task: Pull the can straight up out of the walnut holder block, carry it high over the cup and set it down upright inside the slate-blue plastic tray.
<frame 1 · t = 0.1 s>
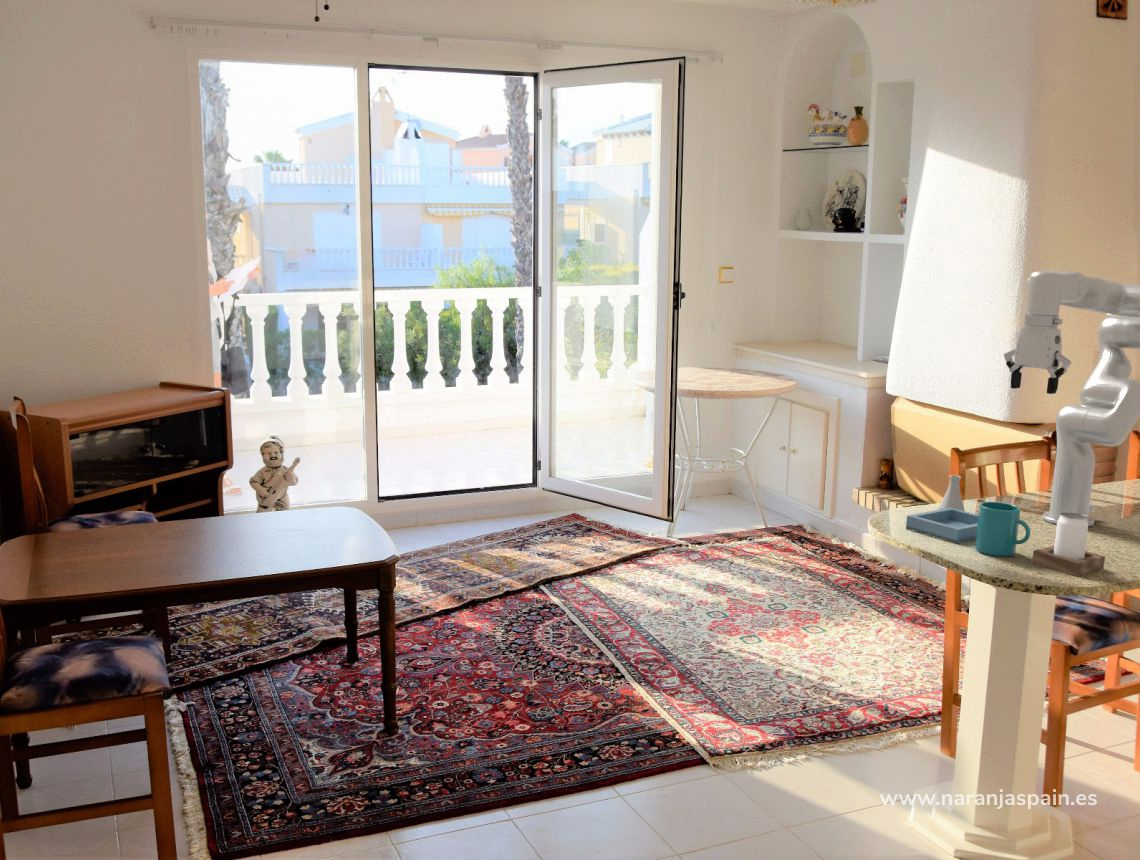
hand: (1033, 390, 268), 37 cm above the table, tool pointing down, fingers open, 9 cm apart
flask: (951, 512, 294), on the table
holder: (1067, 566, 247), on the table
tray: (952, 531, 274), on the table
can: (1067, 567, 247), resting in holder
cup: (1001, 554, 256), on the table
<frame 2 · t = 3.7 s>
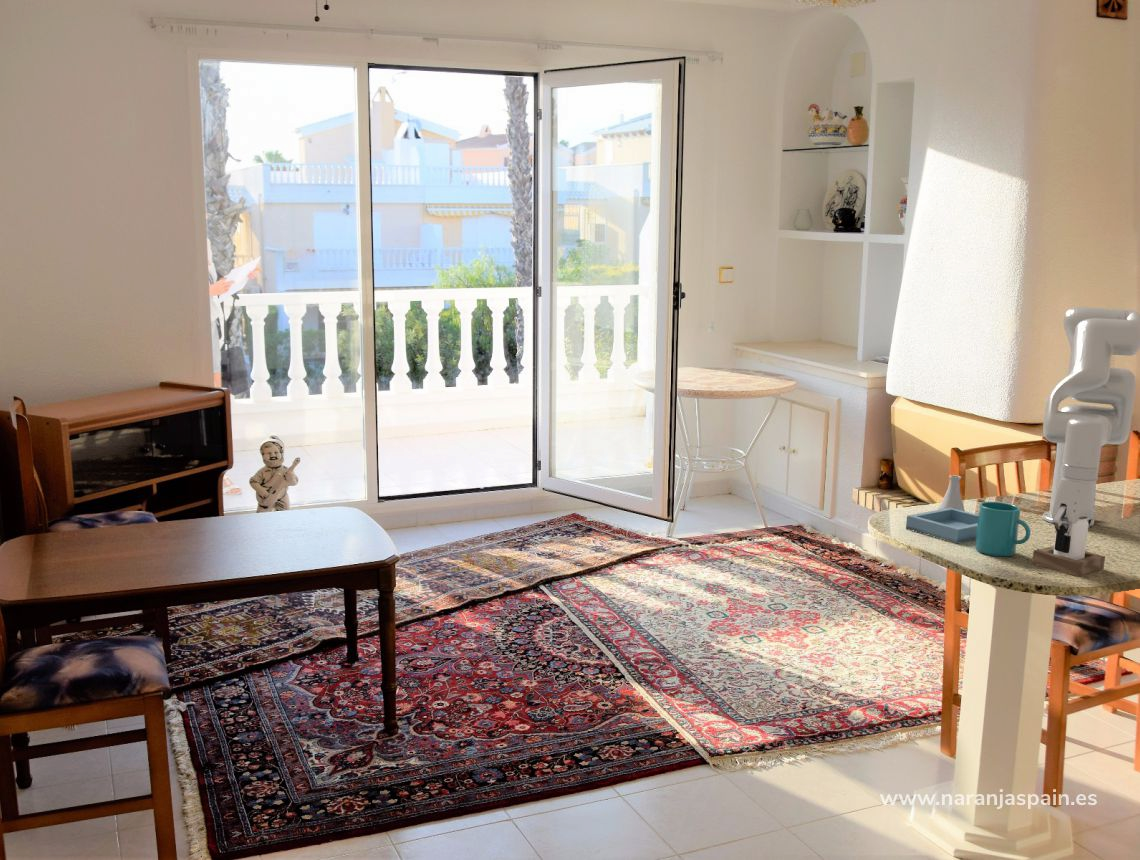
hand: (1069, 548, 246), 4 cm above the table, tool pointing down, fingers closed on can, 6 cm apart
can: (1067, 567, 247), resting in holder, touching gripper
everything else where it was.
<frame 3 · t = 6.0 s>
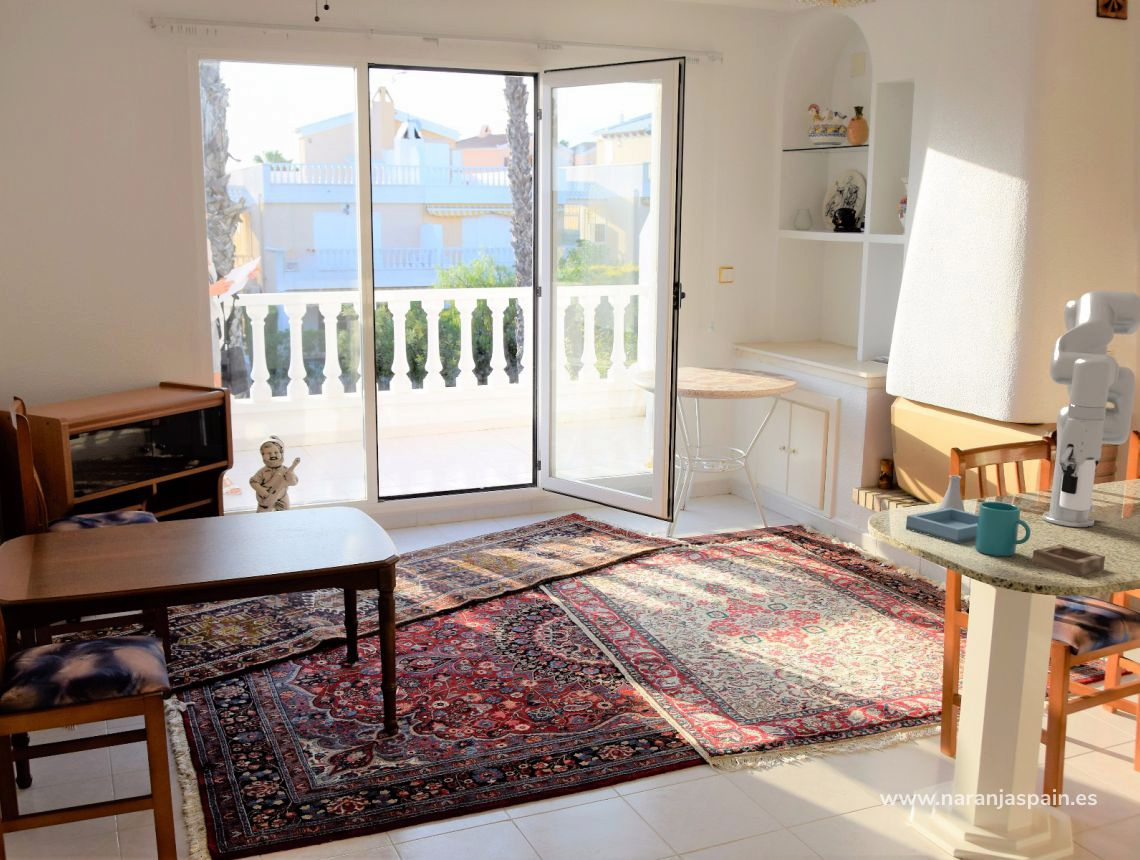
hand: (1076, 490, 244), 18 cm above the table, tool pointing down, fingers closed on can, 6 cm apart
can: (1074, 508, 245), point 13 cm above the table, touching gripper
everything else where it was.
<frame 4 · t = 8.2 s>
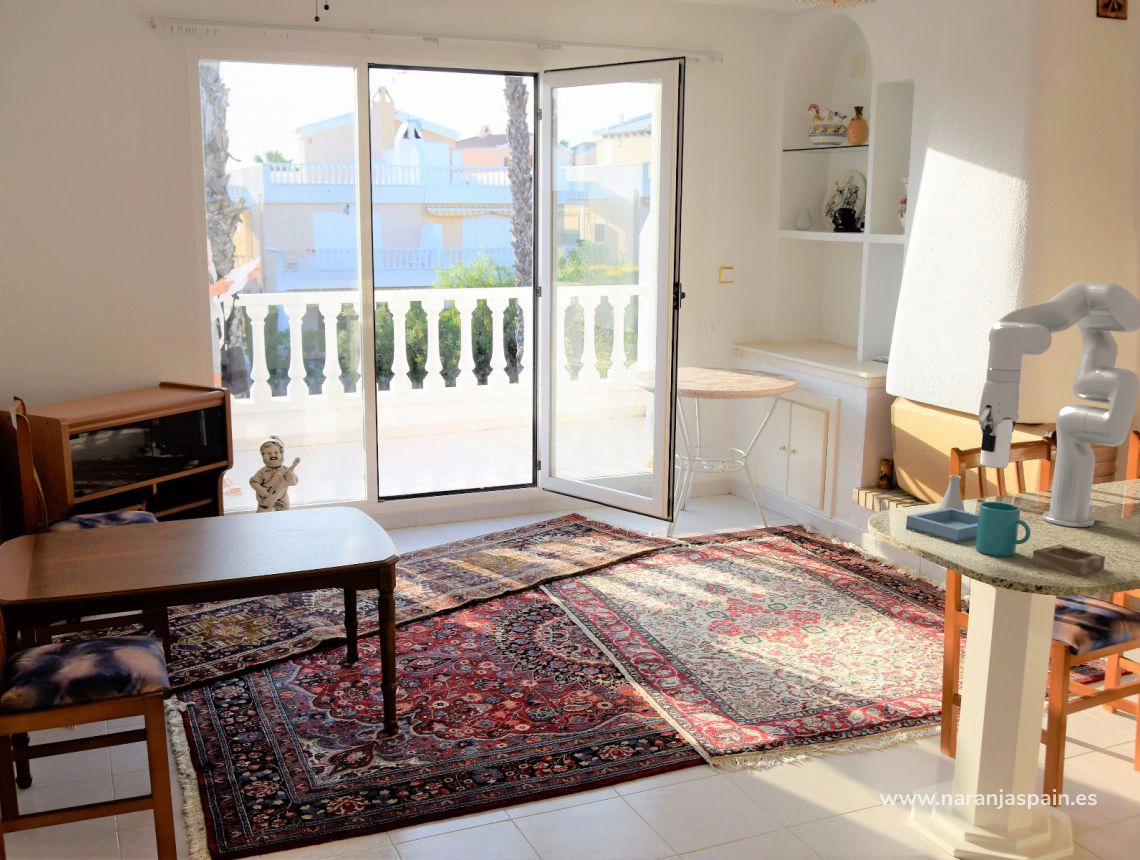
hand: (995, 448, 261), 23 cm above the table, tool pointing down, fingers closed on can, 6 cm apart
can: (993, 466, 262), point 19 cm above the table, touching gripper
everything else where it was.
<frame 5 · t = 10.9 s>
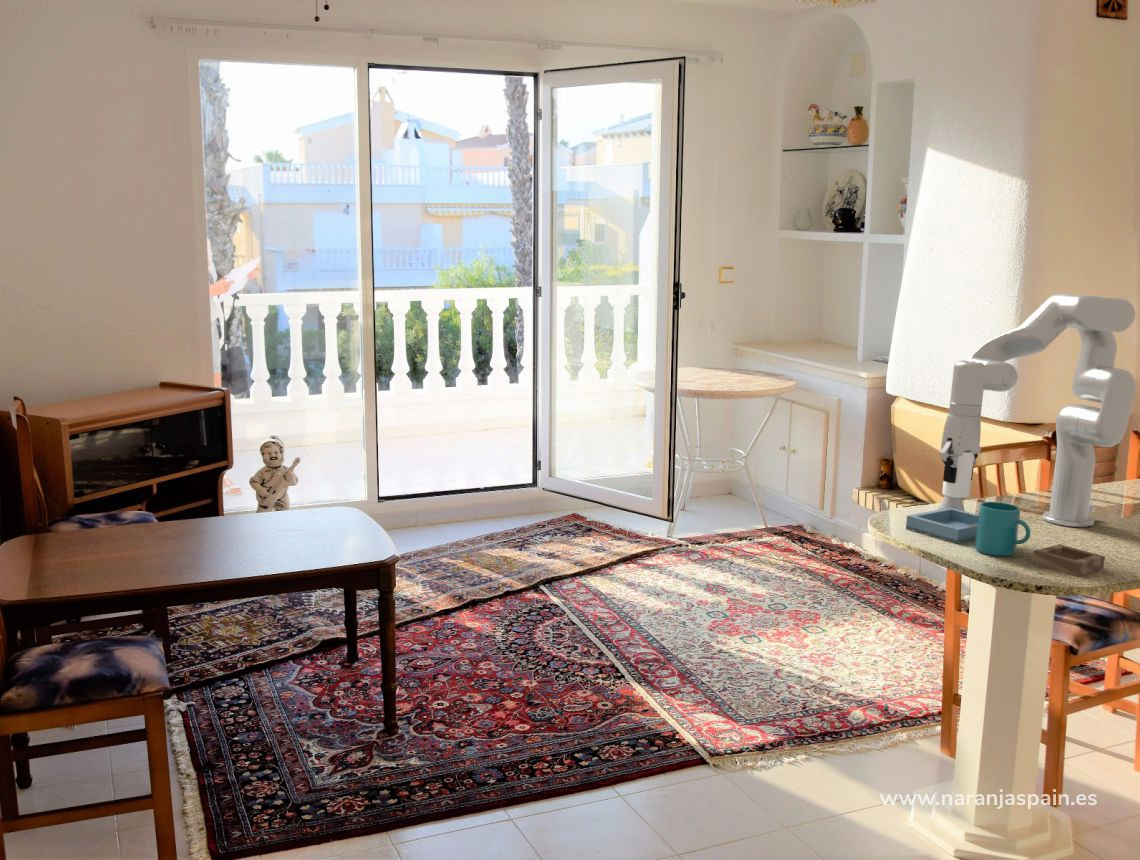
hand: (957, 480, 271), 13 cm above the table, tool pointing down, fingers closed on can, 6 cm apart
can: (955, 497, 272), point 9 cm above the table, touching gripper
everything else where it was.
when the fingers open (6 cm above the table, at t = 12.7 s): can drops 1 cm, resting on tray.
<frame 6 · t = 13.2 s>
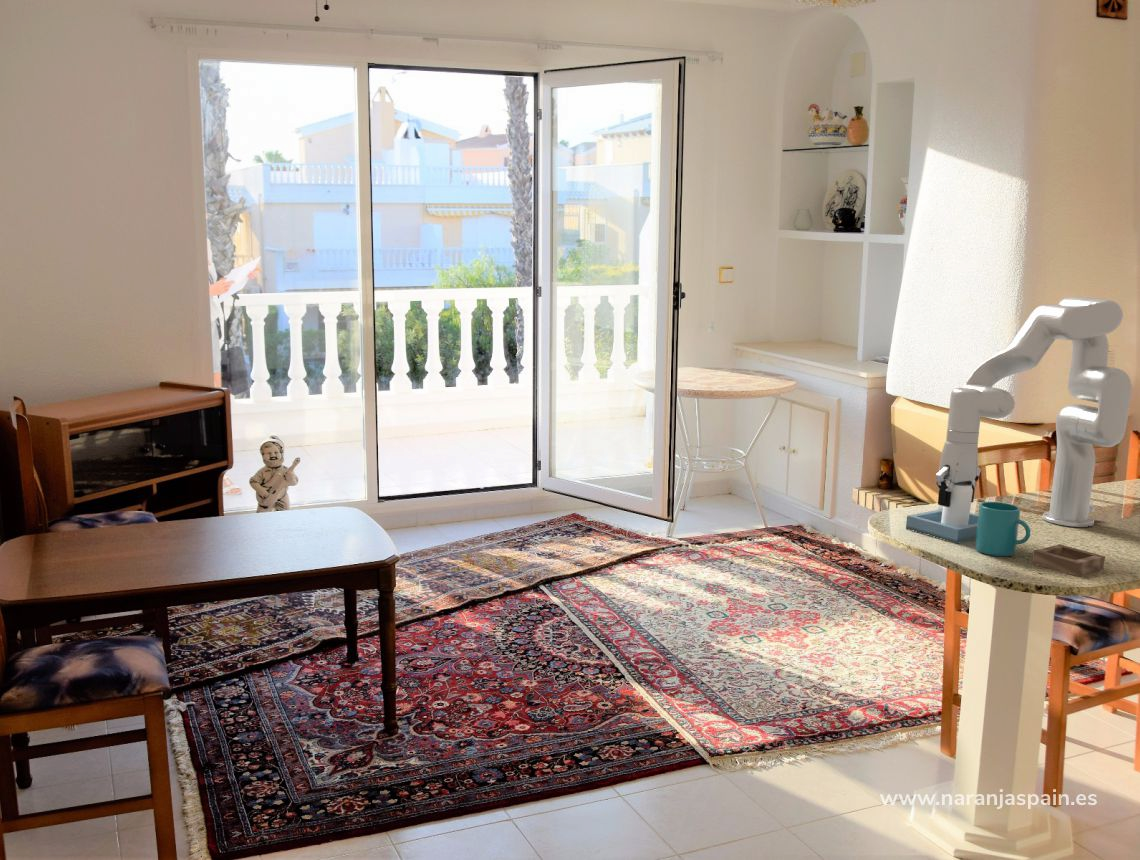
hand: (955, 503, 272), 7 cm above the table, tool pointing down, fingers open, 9 cm apart
can: (953, 528, 273), point 1 cm above the table, touching tray
everything else where it was.
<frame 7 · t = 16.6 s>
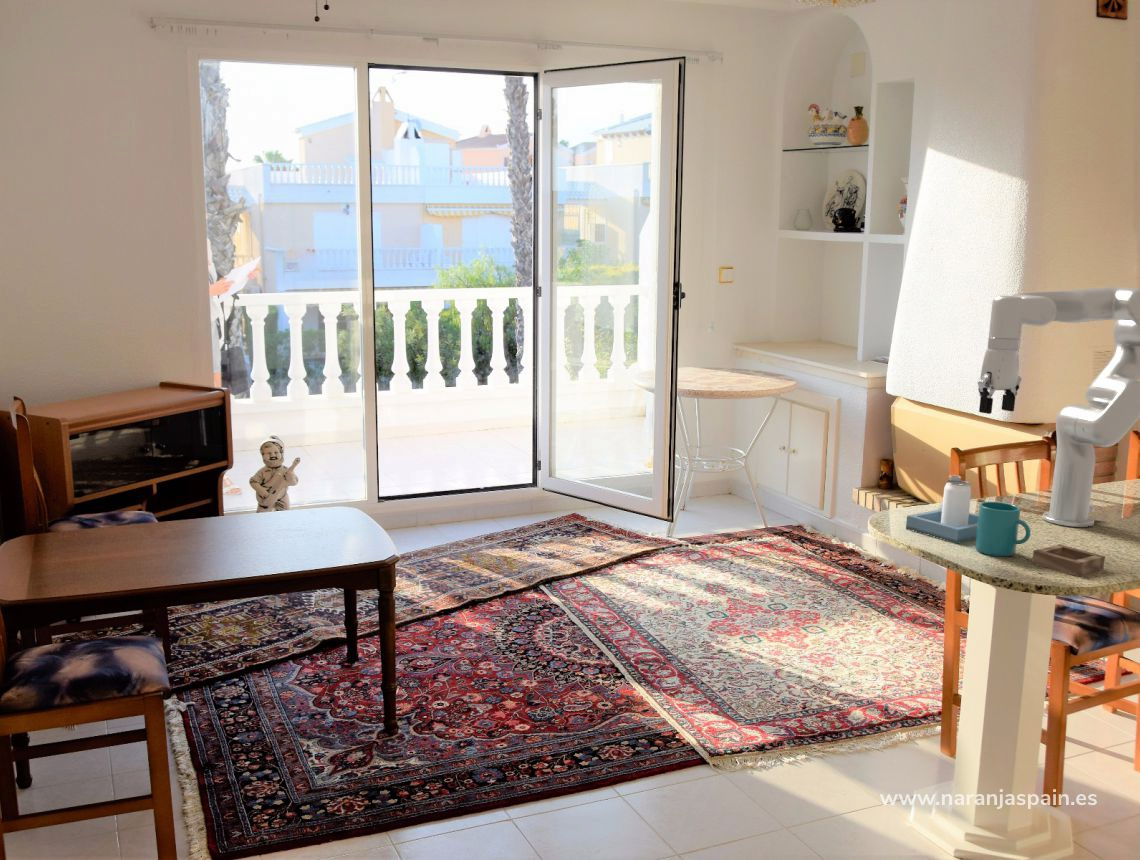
hand: (996, 411, 274), 30 cm above the table, tool pointing down, fingers open, 9 cm apart
nothing on the table moved.
at the end: can inside the target area on the tray (0.2 cm from its centre), point 0.6 cm above the tray's base; can tilted 0°; the gripper is holding nothing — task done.
